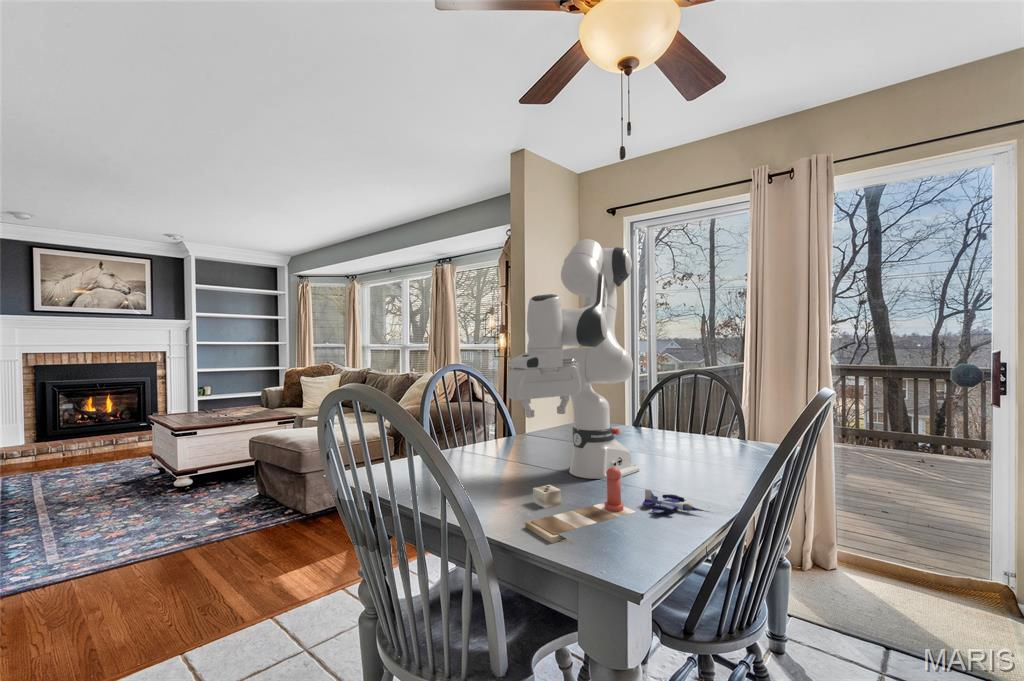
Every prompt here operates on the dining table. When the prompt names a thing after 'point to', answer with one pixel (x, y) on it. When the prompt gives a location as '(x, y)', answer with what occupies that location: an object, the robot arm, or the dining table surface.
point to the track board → (571, 521)
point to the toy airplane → (668, 503)
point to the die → (547, 496)
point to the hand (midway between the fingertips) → (545, 415)
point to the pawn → (614, 490)
